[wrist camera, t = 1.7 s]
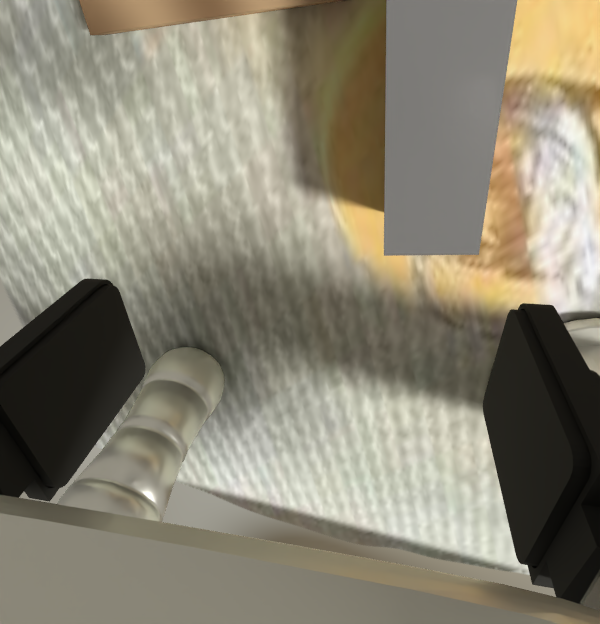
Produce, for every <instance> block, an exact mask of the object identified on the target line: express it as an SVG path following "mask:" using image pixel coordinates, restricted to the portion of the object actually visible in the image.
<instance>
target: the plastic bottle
mask: <svg viewBox="0 0 600 624" xmlns="http://www.w3.org/2000/svg"><path fill="white" fill-rule="evenodd" d="M224 385H225V378H224V374H223V371H222V369H221V366H220V365H219V363H218V362H217V361H216V359H215V358H214V357H212V356H211V355H210V354H208V353H206V352H205V351H202V350H200V349H197V348H193V347H181V348H177V349H173V350H170V351H168V352H166V353H165V354H164V355H163V356H161V357H160V358H159V359H158V360H157V361H156V362H155V363H154V364H153V365H152V367H151V369H150V371H149V373H148V375H147V377H146V379H145V381H144V383H143V386H142V390H141V392H140V394H139V396H138V397H137V399H136V401H135V403H134V405H133V406H132V408H131V410H130V412H129V414H128V415H127V417H126V419H125V420H124V422H123V423H122V424H121V426H120V427H119V428H118V430H117V432H116V433H115V434H114V435H113V436H112V438H111V439H110V440H109V442H108V443H107V444H106V446H105V447H104V448H103V449H102V451H101V452H100V453H99V454H98V455H97V456H96V458H95V459H94V460H93V461H92V462H91V463H90V464H89V465H88V466H87V468H86V469H85V470H84V471H83V472H82V473H81V474H80V475H79V477H78V478H77V479H76V480H75V481H74V482H73V484H72V485H70V486H69V488H68V489H67V490H66V491H65V493H64V494H63V495H62V496H61V498H60V499H59V501H58V503H57V504H59V505H65V506H71V507H77V508H83V509H89V510H95V511H100V512H106V513H112V514H118V515H124V516H129V517H135V518H141V519H147V520H153V521H159V522H162V520H163V517H164V514H165V511H166V507H167V504H168V501H169V497H170V495H171V492H172V488H173V485H174V483H175V480H176V478H177V476H178V473H179V471H180V468H181V466H182V462H183V461H184V459H185V456H186V454H187V451H188V449H189V448H190V446H191V444H192V443H193V441H194V439H195V438H196V436H197V434H198V432H199V431H200V429H201V427H202V426H203V424H204V422H205V421H206V420H207V419H208V417H209V416H210V415H211V414H212V412H213V411H214V409H215V408H216V406H217V405H218V403H219V402H220V400H221V397H222V394H223V389H224Z"/></svg>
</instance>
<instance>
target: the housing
mask: <svg viewBox="0 0 600 624" xmlns="http://www.w3.org/2000/svg"><path fill="white" fill-rule="evenodd" d="M516 5H517V0H386V100H385V201H384V256H385V255H479V249H480V242H481V236H482V229H483V223H484V216H485V209H486V203H487V196H488V190H489V183H490V176H491V170H492V163H493V157H494V150H495V143H496V137H497V130H498V124H499V117H500V111H501V104H502V97H503V91H504V84H505V78H506V71H507V64H508V58H509V51H510V45H511V38H512V31H513V25H514V18H515V12H516Z"/></svg>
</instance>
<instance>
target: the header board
mask: <svg viewBox="0 0 600 624" xmlns="http://www.w3.org/2000/svg"><path fill="white" fill-rule="evenodd" d="M79 1H80V4H81V7H82V10H83V14H84V17H85V20H86V23H87V26H88V29H89V32H90V35H108V34H115V33H122V32H129V31H136V30H143V29H150V28H157V27H164V26H171V25H178V24H185V23H192V22H199V21H206V20H213V19H219V18H226V17H233V16H240V15H247V14H254V13H261V12H268V11H275V10H282V9H289V8H296V7H303V6H310V5H317V4H324V3H331V2H338V1H345V0H79Z"/></svg>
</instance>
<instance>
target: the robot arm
mask: <svg viewBox="0 0 600 624" xmlns="http://www.w3.org/2000/svg"><path fill="white" fill-rule="evenodd" d="M144 374H145V363H144V360H143V358H142V355H141V352H140V349H139V346H138V343H137V341H136V338H135V335H134V332H133V329H132V326H131V323H130V321H129V318H128V315H127V312H126V309H125V306H124V304H123V301H122V298H121V295H120V292H119V290H118V288H117V287H115V286H113V284H112V283H111V282H110V281H108V280H102V279H84V280H82V281H80V282H79V283H78V284H77V285H75V286H74V287H73V288H72V289H71V290H69V291H68V292H67V293H66V294H64V295H63V296H62V297H61V298H59V299H58V300H57V301H56V302H55V303H53V304H52V305H51V306H50V307H48V308H47V309H46V310H45V311H43V312H42V313H41V314H40V315H39V316H37V317H36V318H35V319H34V320H32V321H31V322H30V323H29V324H27V325H26V326H25V327H24V328H23V329H21V330H20V331H19V332H18V333H16V334H15V335H14V336H13V337H11V338H10V339H9V340H8V341H7V342H5V343H4V344H3V345H2V346H1V347H0V624H600V318H592V319H584V320H575V321H571V322H567V323H563V321H562V320H561V318H560V316H559V314H558V313H557V311H556V309H555V308H554V306H552V305H541V304H524V303H523V304H521V305H520V306H519V308H518V310H510V312H509V313H508V316H507V320H506V323H505V327H504V330H503V334H502V337H501V340H500V344H499V347H498V351H497V354H496V358H495V361H494V365H493V368H492V372H491V375H490V379H489V382H488V385H487V389H486V392H485V396H484V401H483V412H484V417H485V421H486V426H487V430H488V435H489V439H490V443H491V448H492V452H493V457H494V461H495V465H496V470H497V474H498V478H499V483H500V487H501V492H502V496H503V500H504V505H505V509H506V513H507V518H508V522H509V527H510V531H511V535H512V540H513V544H514V548H515V553H516V556H517V559H518V561H519V562H520V564H525V565H528V568H529V573H530V576H531V580H532V584H533V585H538V586H544V587H550V588H554V591H555V594H556V597H553V596H549V595H545V594H541V593H537V592H532V591H529V590H524V589H520V588H516V587H512V586H508V585H504V584H499V583H494V582H488V581H484V580H478V579H473V578H468V577H463V576H458V575H453V574H448V573H443V572H438V571H432V570H427V569H422V568H417V567H412V566H407V565H402V564H397V563H391V562H385V561H380V560H374V559H369V558H363V557H357V556H351V555H346V554H340V553H335V552H329V551H323V550H318V549H312V548H307V547H301V546H296V545H290V544H284V543H279V542H273V541H267V540H262V539H256V538H250V537H244V536H239V535H233V534H228V533H222V532H216V531H210V530H205V529H199V528H193V527H187V526H182V525H176V524H170V523H164V522H159V521H153V520H147V519H141V518H135V517H129V516H124V515H118V514H112V513H106V512H100V511H95V510H89V509H83V508H77V507H71V506H65V505H59V504H52V503H47V502H41V501H35V500H28V499H23V498H19V497H20V495H21V494H22V493H23V491H24V492H25V493H26V494H27V496H28V497H29V498H33V499H39V500H45V501H50V500H51V499H52V498H53V496H54V495H55V494H56V492H57V491H58V489H59V488H61V487H63V486H65V485H66V484H67V483H68V481H69V480H70V479H71V478H72V476H73V475H74V473H75V472H76V471H77V469H78V468H79V466H80V465H81V464H82V462H83V461H84V459H85V458H86V457H87V455H88V454H89V452H90V451H91V450H92V448H93V447H94V445H95V444H96V443H97V441H98V440H99V438H100V437H101V436H102V434H103V433H104V432H105V430H106V429H107V427H108V426H109V425H110V423H111V422H112V420H113V419H114V418H115V416H116V415H117V413H118V412H119V411H120V409H121V408H122V406H123V405H124V404H125V402H126V401H127V399H128V398H129V397H130V395H131V394H132V392H133V391H134V390H135V388H136V387H137V385H138V384H139V383H140V381H141V380H142V378H143V377H144Z"/></svg>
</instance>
